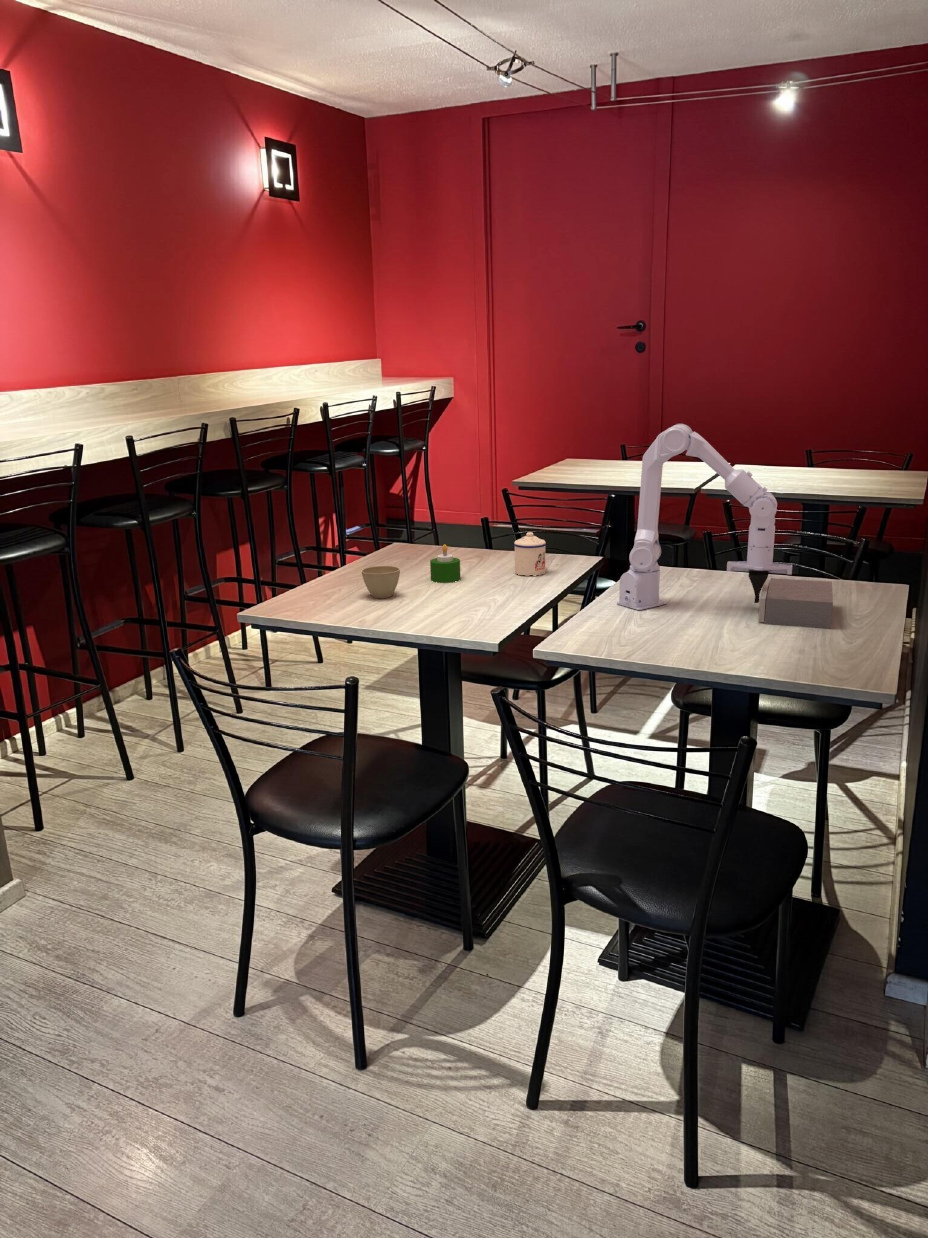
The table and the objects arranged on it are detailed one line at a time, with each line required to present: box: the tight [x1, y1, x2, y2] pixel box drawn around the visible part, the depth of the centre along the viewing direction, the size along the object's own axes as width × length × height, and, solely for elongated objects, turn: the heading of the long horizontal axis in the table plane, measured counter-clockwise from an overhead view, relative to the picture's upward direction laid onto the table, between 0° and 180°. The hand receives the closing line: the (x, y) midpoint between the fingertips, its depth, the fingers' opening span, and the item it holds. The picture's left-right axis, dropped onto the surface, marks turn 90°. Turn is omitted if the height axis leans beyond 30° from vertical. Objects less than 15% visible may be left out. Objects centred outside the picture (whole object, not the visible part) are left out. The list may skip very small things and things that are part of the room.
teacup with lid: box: [513, 531, 547, 577], centre depth 266 cm, size 12×9×12 cm
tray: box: [758, 578, 771, 623], centre depth 219 cm, size 12×20×6 cm, turn 160°
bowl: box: [361, 565, 401, 599], centre depth 244 cm, size 10×10×7 cm
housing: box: [764, 577, 834, 629], centre depth 218 cm, size 14×20×6 cm
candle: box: [429, 543, 461, 584], centre depth 260 cm, size 8×8×10 cm
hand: (756, 601), depth 222 cm, fingers closed
